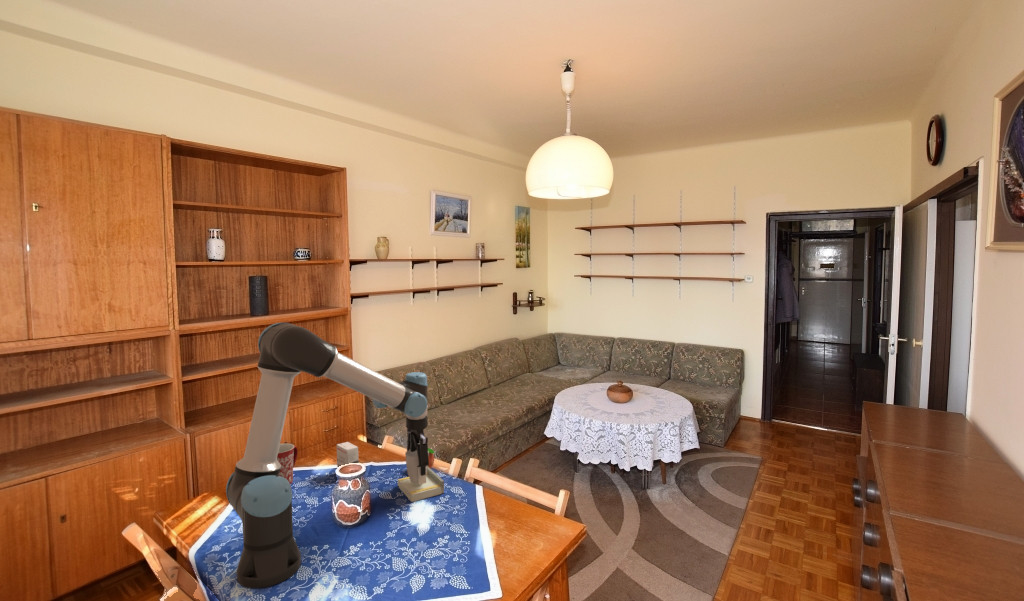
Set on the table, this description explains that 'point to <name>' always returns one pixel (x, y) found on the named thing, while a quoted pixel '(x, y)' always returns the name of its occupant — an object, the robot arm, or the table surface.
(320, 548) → the table surface
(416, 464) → the cup
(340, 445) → the ink box
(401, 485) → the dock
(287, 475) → the mug
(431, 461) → the fruit
